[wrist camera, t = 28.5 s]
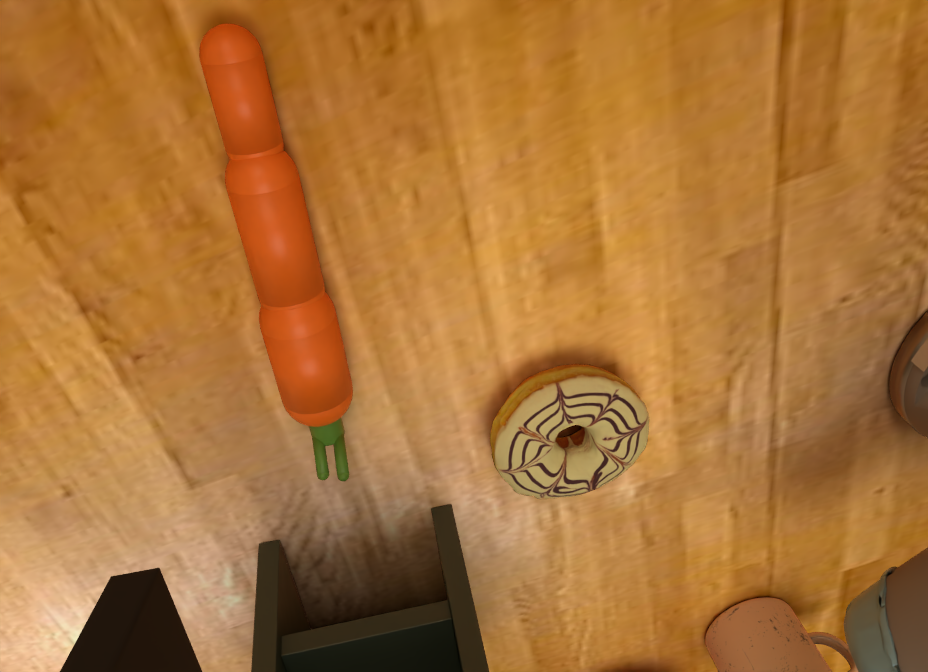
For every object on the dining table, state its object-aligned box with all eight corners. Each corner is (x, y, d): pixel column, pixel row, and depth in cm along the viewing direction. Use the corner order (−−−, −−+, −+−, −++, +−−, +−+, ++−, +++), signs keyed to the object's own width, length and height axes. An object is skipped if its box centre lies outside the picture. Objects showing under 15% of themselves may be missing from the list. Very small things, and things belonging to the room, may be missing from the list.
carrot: (179, 24, 35) (162, 50, 31) (270, 11, 35) (266, 35, 31) (299, 435, 49) (299, 492, 45) (363, 423, 50) (369, 478, 45)
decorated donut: (581, 487, 57) (598, 525, 54) (458, 450, 52) (468, 489, 49) (663, 383, 52) (686, 417, 49) (536, 333, 48) (552, 368, 45)
